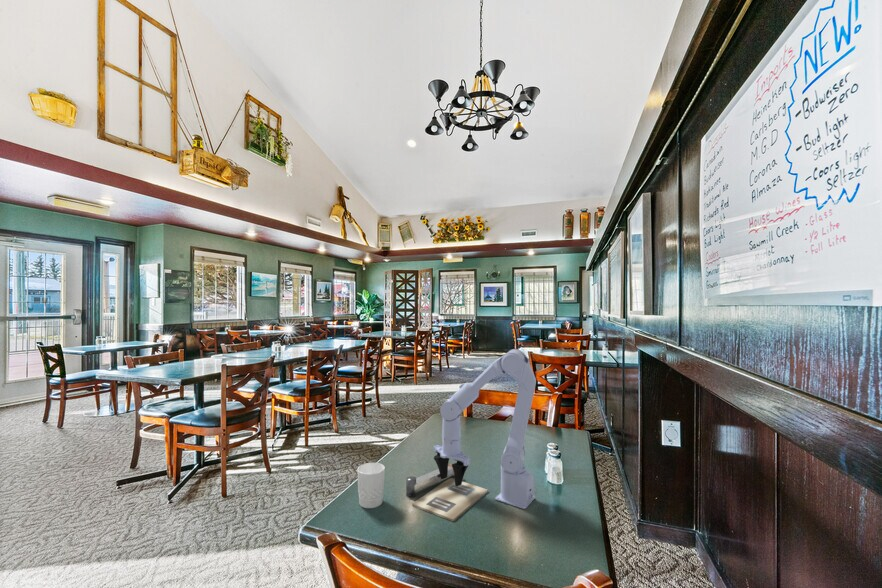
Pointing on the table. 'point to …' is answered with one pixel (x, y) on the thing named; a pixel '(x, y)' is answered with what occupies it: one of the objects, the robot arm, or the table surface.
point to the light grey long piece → (425, 481)
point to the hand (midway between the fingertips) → (451, 481)
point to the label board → (450, 499)
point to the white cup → (371, 484)
